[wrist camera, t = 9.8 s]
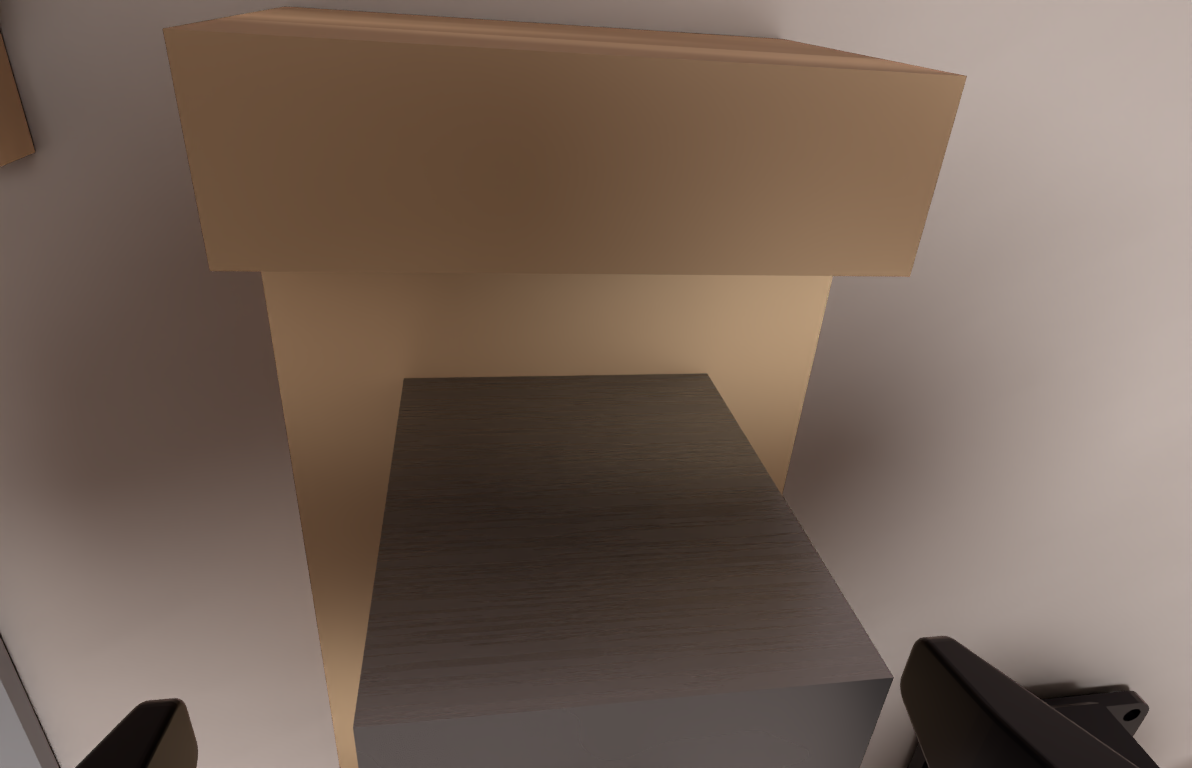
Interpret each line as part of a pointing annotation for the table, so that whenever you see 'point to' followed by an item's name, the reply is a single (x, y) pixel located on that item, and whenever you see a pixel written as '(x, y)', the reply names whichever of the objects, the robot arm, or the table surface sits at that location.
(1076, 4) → the table surface
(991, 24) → the table surface
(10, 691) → the felt pad
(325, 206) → the body
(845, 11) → the table surface
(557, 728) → the grey knobbed drawer
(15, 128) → the lever mount
